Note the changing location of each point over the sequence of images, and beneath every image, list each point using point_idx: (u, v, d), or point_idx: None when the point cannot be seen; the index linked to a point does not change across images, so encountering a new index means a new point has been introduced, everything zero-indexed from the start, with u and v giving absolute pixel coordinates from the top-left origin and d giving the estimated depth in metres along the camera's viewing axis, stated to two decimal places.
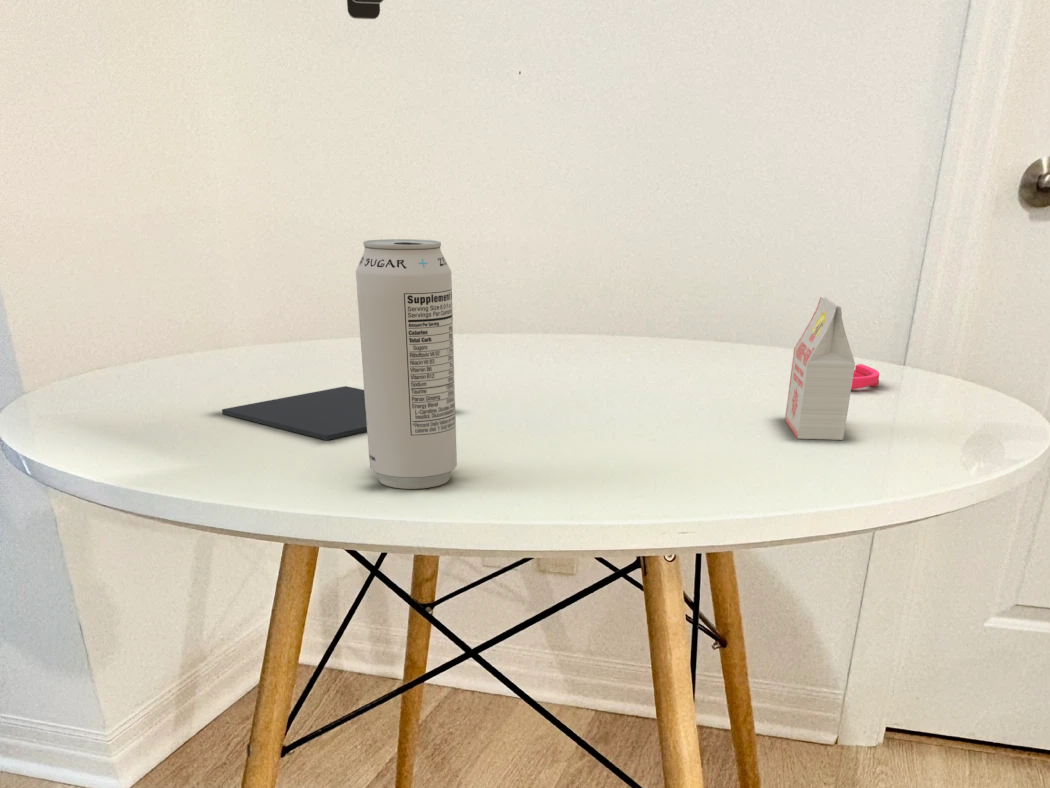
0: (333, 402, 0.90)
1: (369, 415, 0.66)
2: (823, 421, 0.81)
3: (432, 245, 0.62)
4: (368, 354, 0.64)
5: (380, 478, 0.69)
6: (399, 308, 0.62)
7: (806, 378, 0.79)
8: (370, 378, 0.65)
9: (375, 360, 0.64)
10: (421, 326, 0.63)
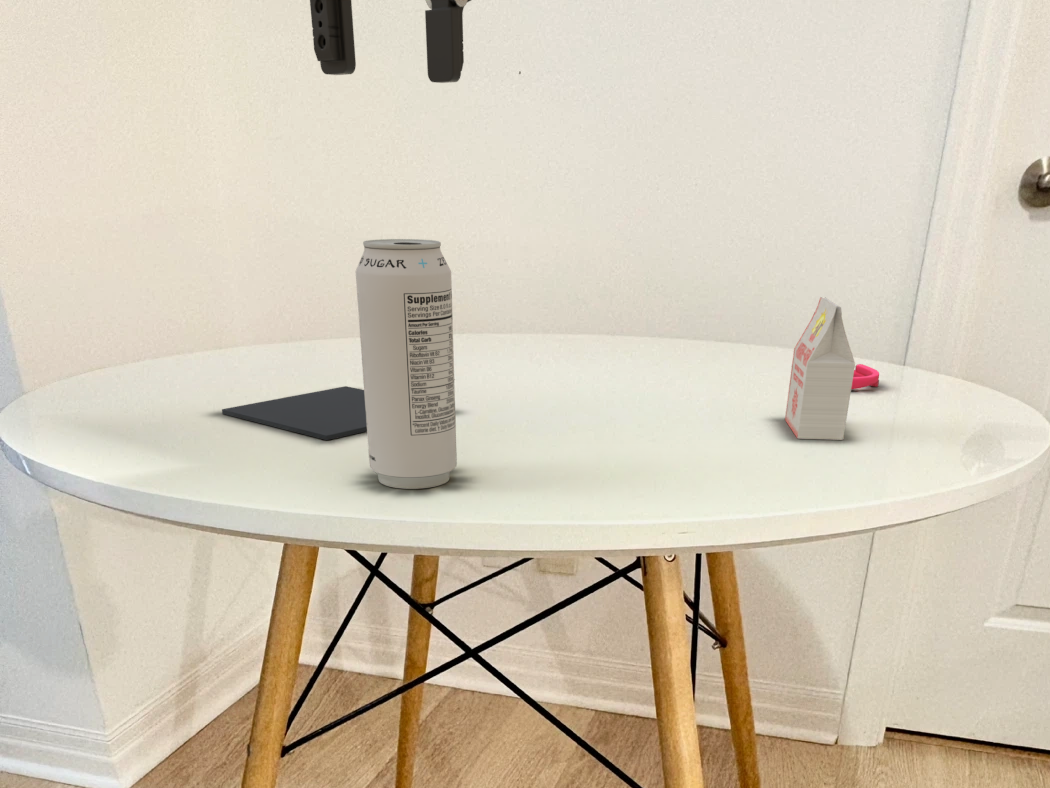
0: (333, 402, 0.90)
1: (369, 415, 0.66)
2: (823, 421, 0.81)
3: (432, 245, 0.62)
4: (368, 354, 0.64)
5: (380, 478, 0.69)
6: (399, 308, 0.62)
7: (806, 378, 0.79)
8: (369, 378, 0.65)
9: (375, 360, 0.64)
10: (421, 326, 0.63)
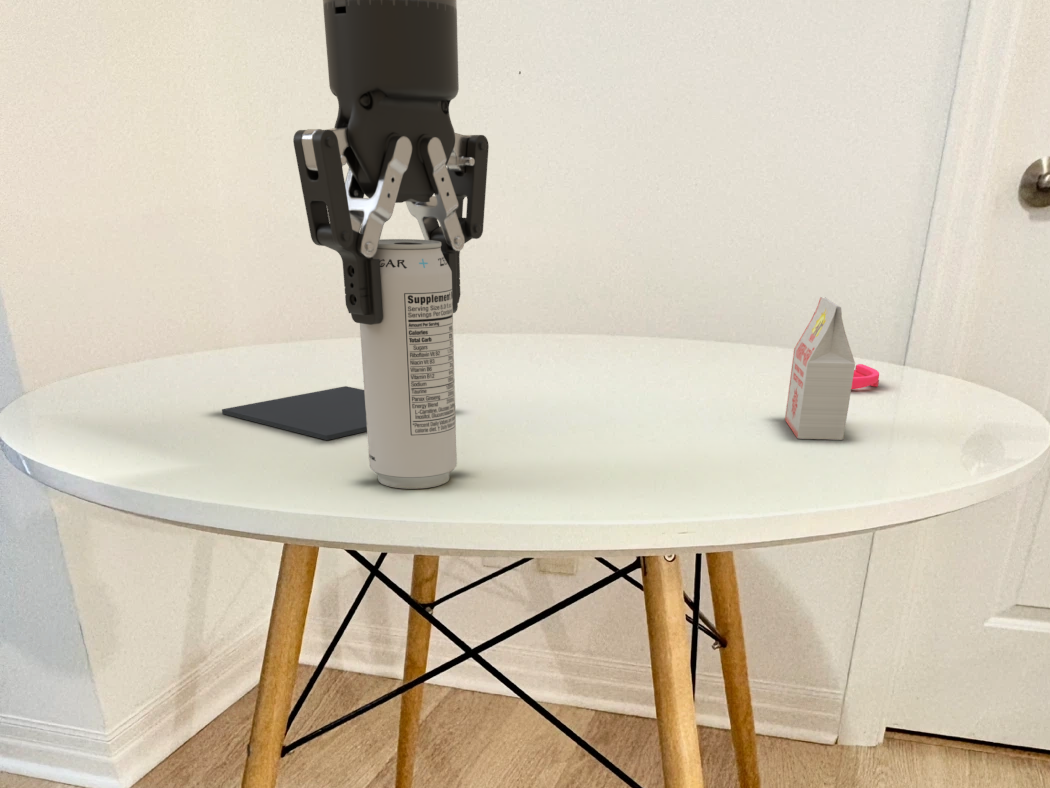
0: (333, 402, 0.90)
1: (369, 415, 0.66)
2: (823, 421, 0.81)
3: (432, 245, 0.62)
4: (368, 354, 0.64)
5: (380, 478, 0.69)
6: (399, 308, 0.62)
7: (806, 378, 0.79)
8: (370, 377, 0.65)
9: (376, 360, 0.64)
10: (421, 326, 0.63)
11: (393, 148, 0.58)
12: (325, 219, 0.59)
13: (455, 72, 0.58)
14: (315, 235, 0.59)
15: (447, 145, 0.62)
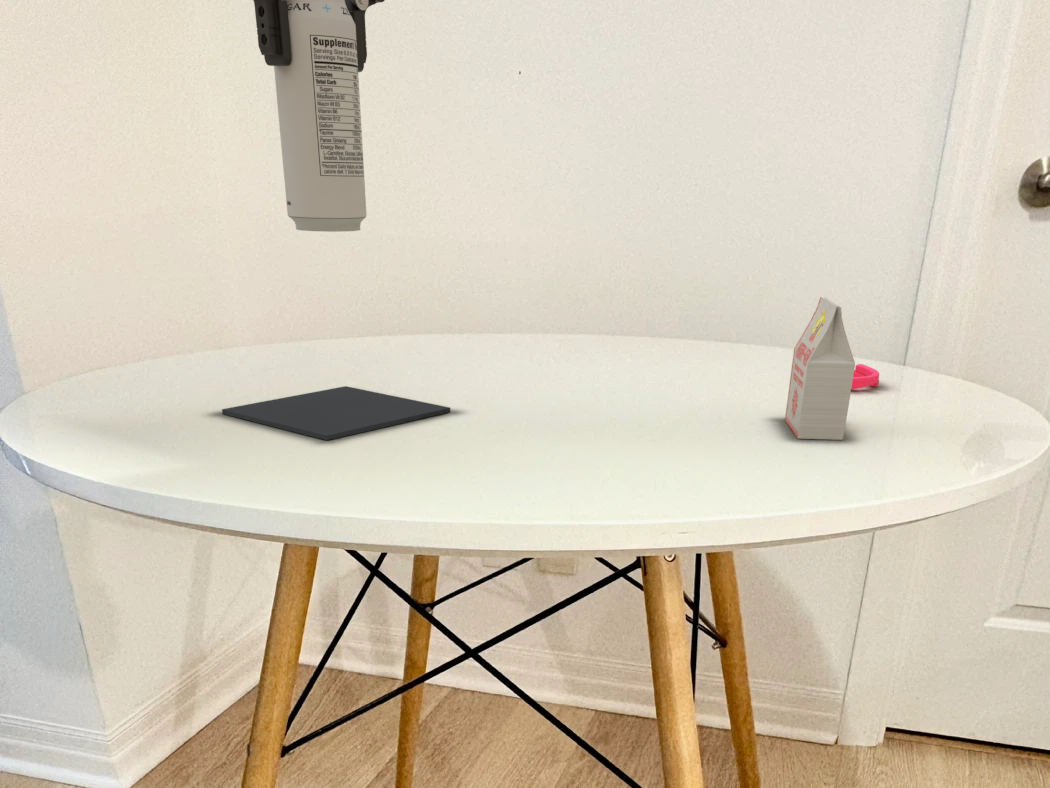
0: (333, 402, 0.90)
1: (284, 160, 0.75)
2: (823, 421, 0.81)
3: None
4: (281, 98, 0.72)
5: (296, 224, 0.77)
6: (306, 49, 0.70)
7: (806, 378, 0.79)
8: (283, 122, 0.73)
9: (287, 102, 0.72)
10: (326, 68, 0.71)
11: None
12: None
13: None
14: None
15: None
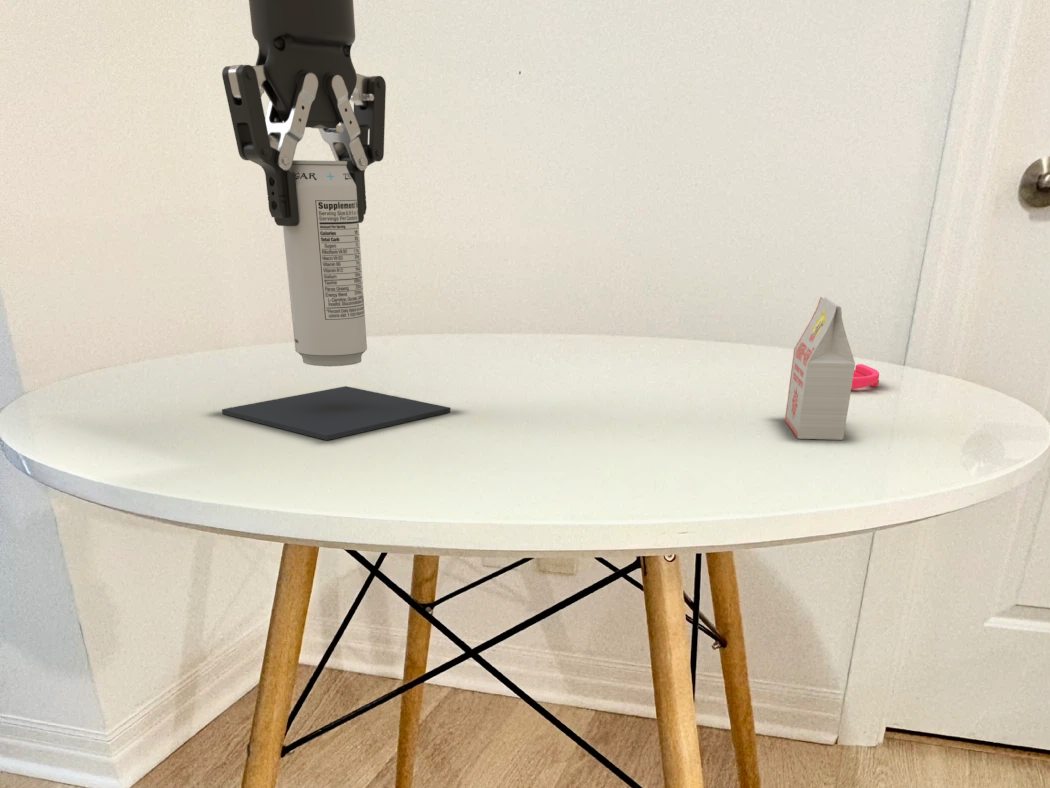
0: (333, 402, 0.90)
1: (292, 304, 0.82)
2: (823, 421, 0.81)
3: (338, 162, 0.77)
4: (289, 252, 0.80)
5: (303, 359, 0.84)
6: (312, 212, 0.77)
7: (806, 378, 0.79)
8: (291, 272, 0.81)
9: (295, 256, 0.80)
10: (330, 228, 0.78)
11: (302, 82, 0.74)
12: (250, 138, 0.75)
13: (350, 22, 0.73)
14: (242, 151, 0.74)
15: (349, 82, 0.77)
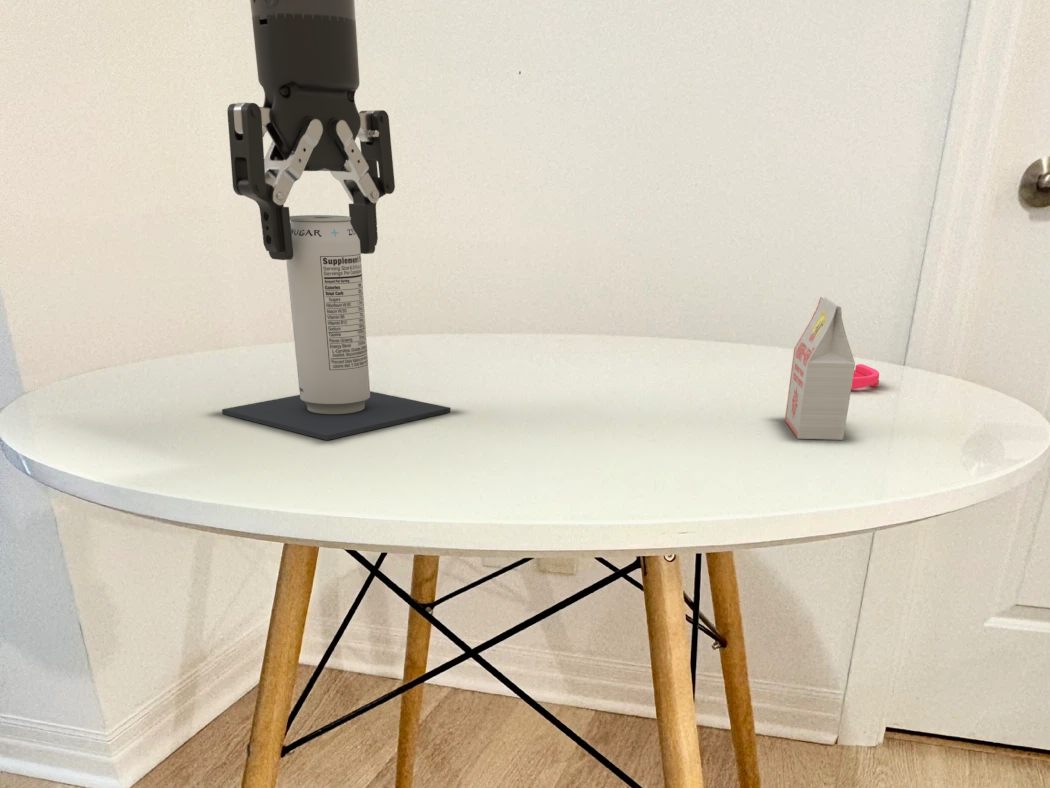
0: None
1: (297, 355, 0.84)
2: (823, 421, 0.81)
3: (342, 219, 0.79)
4: (294, 305, 0.82)
5: (308, 406, 0.86)
6: (317, 267, 0.79)
7: (806, 378, 0.79)
8: (296, 324, 0.82)
9: (300, 309, 0.81)
10: (335, 282, 0.80)
11: (307, 126, 0.75)
12: (246, 175, 0.75)
13: (355, 69, 0.75)
14: (236, 185, 0.75)
15: (354, 126, 0.79)
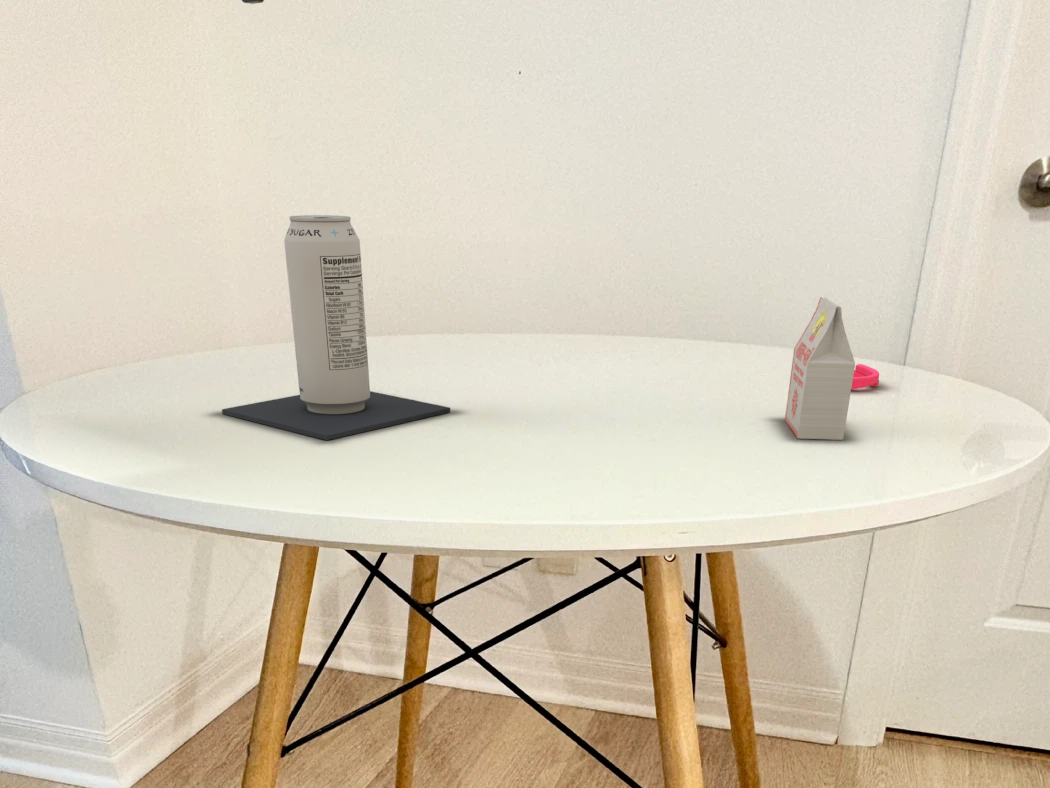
0: None
1: (297, 355, 0.84)
2: (823, 421, 0.81)
3: (342, 219, 0.79)
4: (294, 305, 0.82)
5: (308, 406, 0.86)
6: (317, 268, 0.79)
7: (806, 378, 0.79)
8: (296, 324, 0.82)
9: (300, 309, 0.81)
10: (335, 282, 0.80)
11: None
12: None
13: None
14: None
15: None
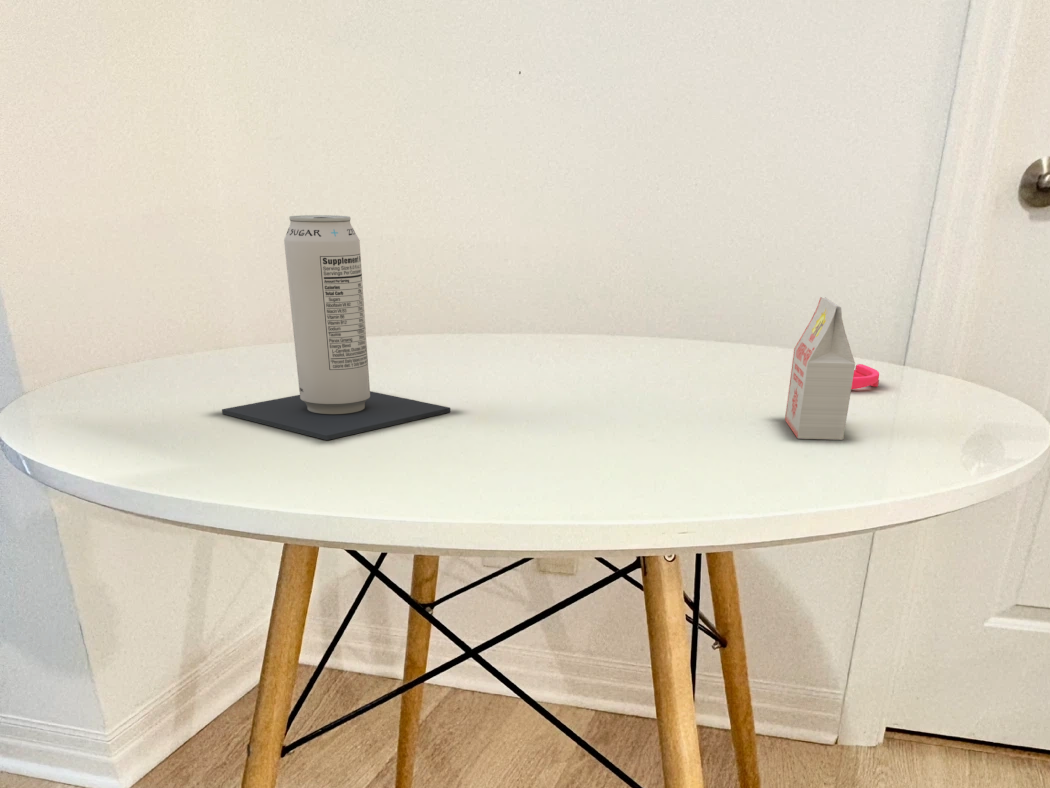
0: None
1: (297, 355, 0.84)
2: (823, 421, 0.81)
3: (342, 219, 0.79)
4: (294, 305, 0.82)
5: (308, 406, 0.86)
6: (316, 268, 0.79)
7: (806, 378, 0.79)
8: (296, 324, 0.82)
9: (300, 309, 0.81)
10: (334, 282, 0.80)
11: None
12: None
13: None
14: None
15: None
